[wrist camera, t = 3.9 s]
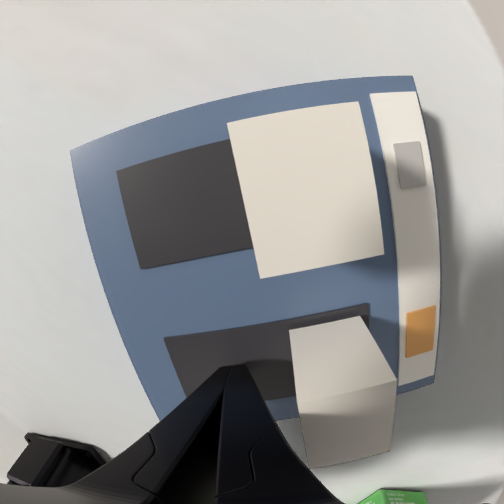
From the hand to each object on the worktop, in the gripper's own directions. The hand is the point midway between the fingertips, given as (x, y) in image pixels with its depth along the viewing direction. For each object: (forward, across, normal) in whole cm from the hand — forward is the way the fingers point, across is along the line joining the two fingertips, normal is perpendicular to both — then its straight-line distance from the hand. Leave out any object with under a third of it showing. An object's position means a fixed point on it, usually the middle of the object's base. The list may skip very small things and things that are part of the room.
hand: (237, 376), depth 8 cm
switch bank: (+3, -2, -2) cm, 4 cm away
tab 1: (0, -3, -5) cm, 6 cm away
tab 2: (0, -3, 0) cm, 3 cm away
